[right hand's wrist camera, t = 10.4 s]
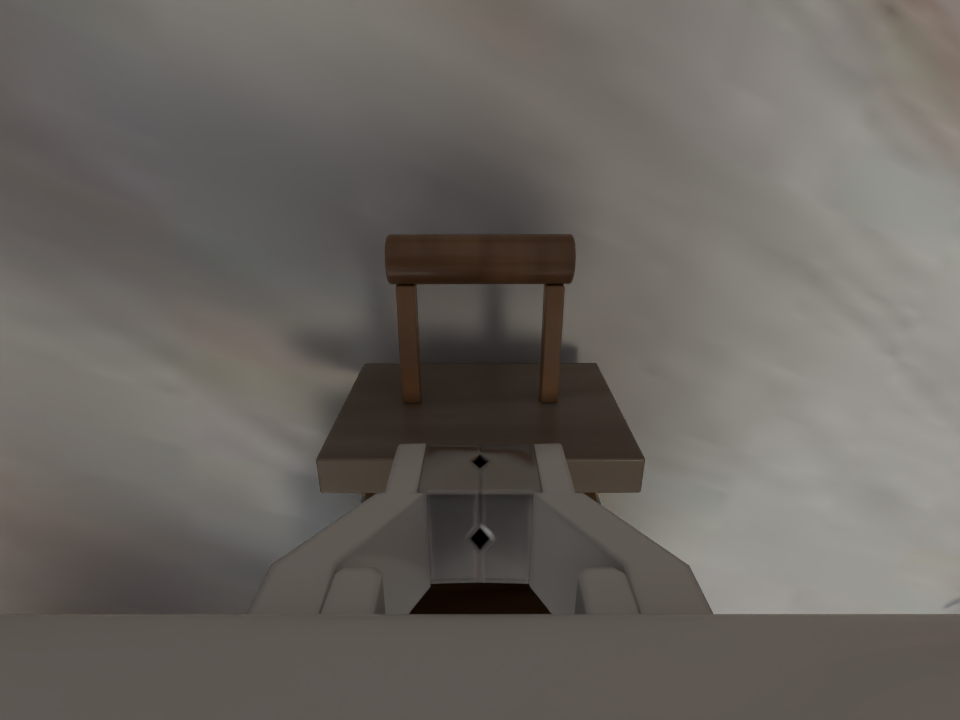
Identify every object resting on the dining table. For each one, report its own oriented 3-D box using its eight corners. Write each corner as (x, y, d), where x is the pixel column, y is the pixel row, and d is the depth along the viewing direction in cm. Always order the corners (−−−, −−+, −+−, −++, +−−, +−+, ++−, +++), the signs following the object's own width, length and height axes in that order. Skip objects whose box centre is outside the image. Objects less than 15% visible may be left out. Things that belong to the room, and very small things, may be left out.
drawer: (350, 219, 20) (286, 261, 13) (609, 218, 20) (673, 260, 13) (384, 583, 26) (353, 730, 20) (577, 583, 26) (608, 729, 20)
